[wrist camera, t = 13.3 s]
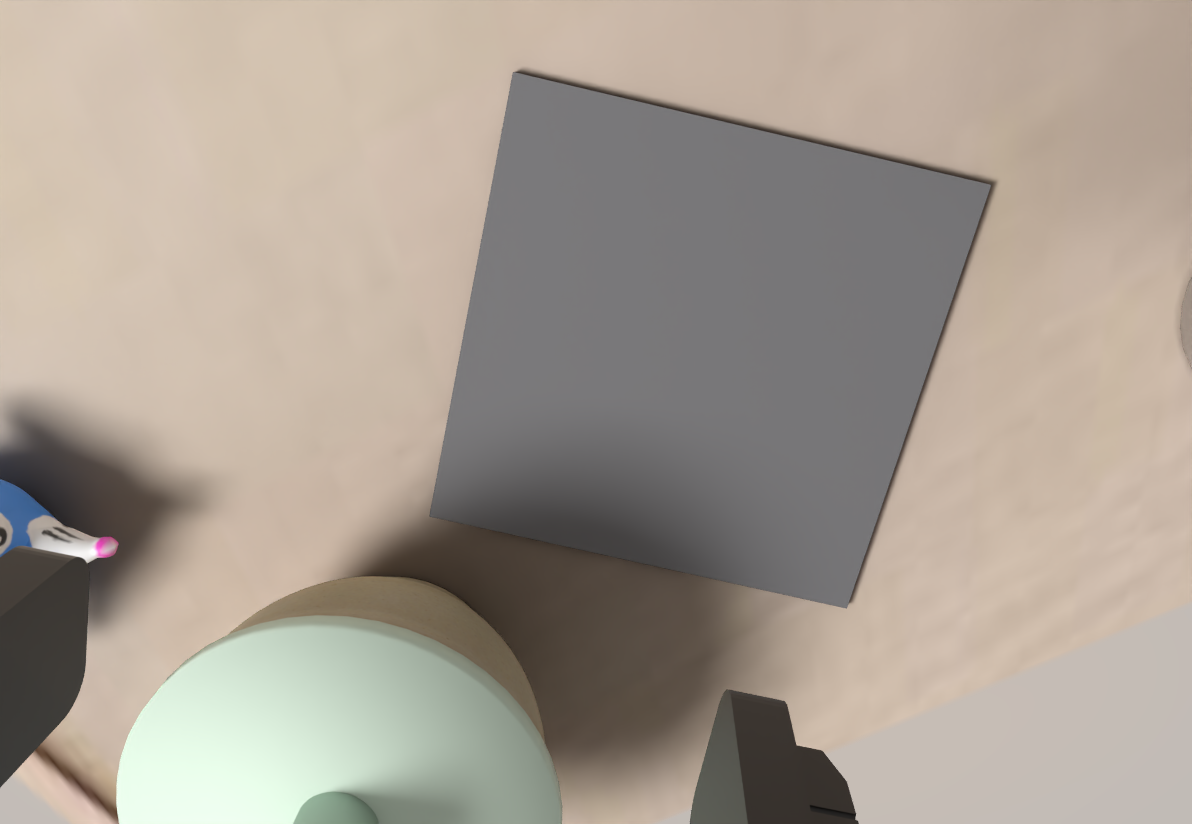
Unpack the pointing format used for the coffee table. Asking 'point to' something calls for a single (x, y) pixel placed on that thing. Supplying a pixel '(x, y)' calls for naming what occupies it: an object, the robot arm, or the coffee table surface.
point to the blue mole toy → (43, 528)
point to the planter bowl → (413, 622)
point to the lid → (334, 735)
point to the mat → (695, 340)
